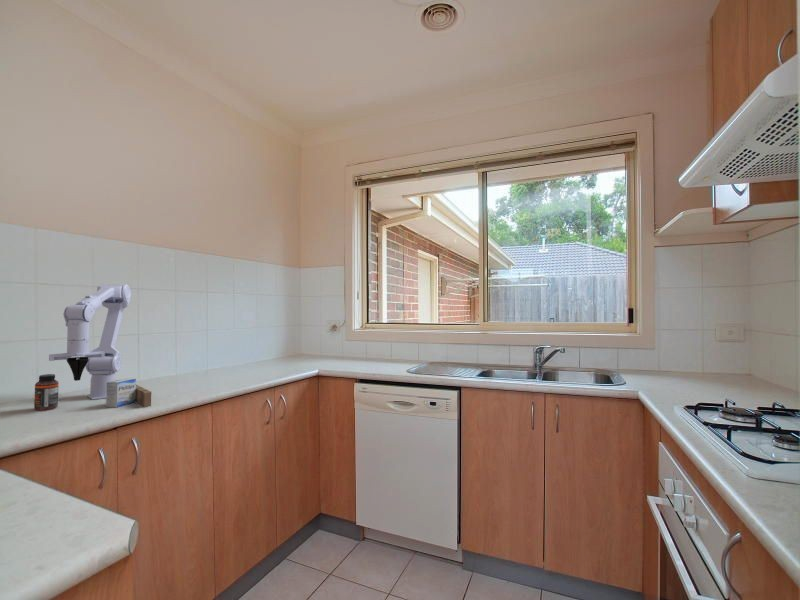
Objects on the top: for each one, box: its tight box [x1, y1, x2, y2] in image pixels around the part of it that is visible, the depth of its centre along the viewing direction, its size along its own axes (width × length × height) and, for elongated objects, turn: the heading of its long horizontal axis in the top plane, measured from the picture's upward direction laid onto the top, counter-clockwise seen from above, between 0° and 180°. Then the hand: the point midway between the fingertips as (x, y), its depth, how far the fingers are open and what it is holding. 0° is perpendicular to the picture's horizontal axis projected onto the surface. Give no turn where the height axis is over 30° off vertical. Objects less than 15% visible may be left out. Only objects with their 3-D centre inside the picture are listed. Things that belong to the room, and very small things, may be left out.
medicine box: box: [105, 377, 137, 409], centre depth 138 cm, size 8×4×9 cm, turn 170°
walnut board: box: [135, 384, 152, 408], centre depth 142 cm, size 20×2×5 cm, turn 48°
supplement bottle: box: [33, 373, 60, 411], centre depth 132 cm, size 6×6×11 cm
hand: (77, 380), depth 133 cm, fingers closed
